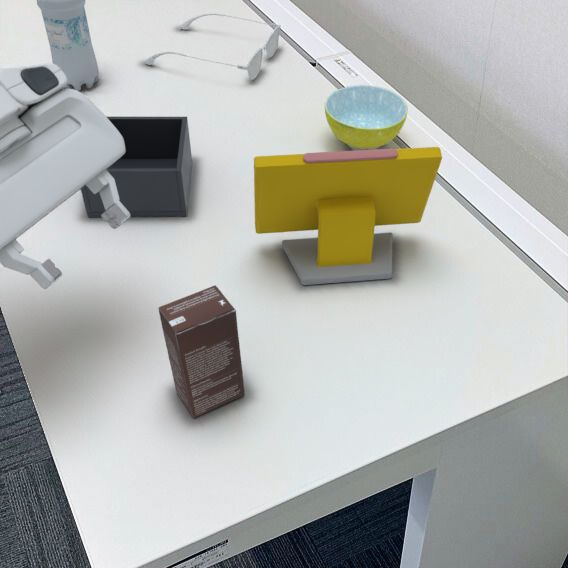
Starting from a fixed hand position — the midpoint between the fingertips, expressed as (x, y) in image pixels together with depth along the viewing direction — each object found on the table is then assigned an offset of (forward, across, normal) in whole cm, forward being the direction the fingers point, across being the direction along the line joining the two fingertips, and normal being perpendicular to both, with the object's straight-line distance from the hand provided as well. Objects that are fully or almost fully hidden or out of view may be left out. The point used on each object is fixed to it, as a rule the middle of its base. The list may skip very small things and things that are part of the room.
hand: (90, 251), depth 69 cm
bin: (-1, +26, +22) cm, 34 cm away
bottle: (-18, +43, +39) cm, 61 cm away
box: (+18, +1, +4) cm, 19 cm away
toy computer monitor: (+20, +26, +2) cm, 33 cm away
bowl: (+14, +50, +8) cm, 52 cm away
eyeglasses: (-9, +61, +30) cm, 69 cm away
